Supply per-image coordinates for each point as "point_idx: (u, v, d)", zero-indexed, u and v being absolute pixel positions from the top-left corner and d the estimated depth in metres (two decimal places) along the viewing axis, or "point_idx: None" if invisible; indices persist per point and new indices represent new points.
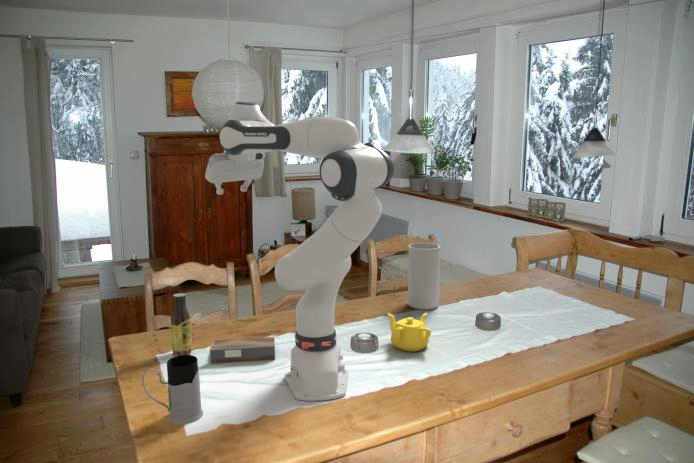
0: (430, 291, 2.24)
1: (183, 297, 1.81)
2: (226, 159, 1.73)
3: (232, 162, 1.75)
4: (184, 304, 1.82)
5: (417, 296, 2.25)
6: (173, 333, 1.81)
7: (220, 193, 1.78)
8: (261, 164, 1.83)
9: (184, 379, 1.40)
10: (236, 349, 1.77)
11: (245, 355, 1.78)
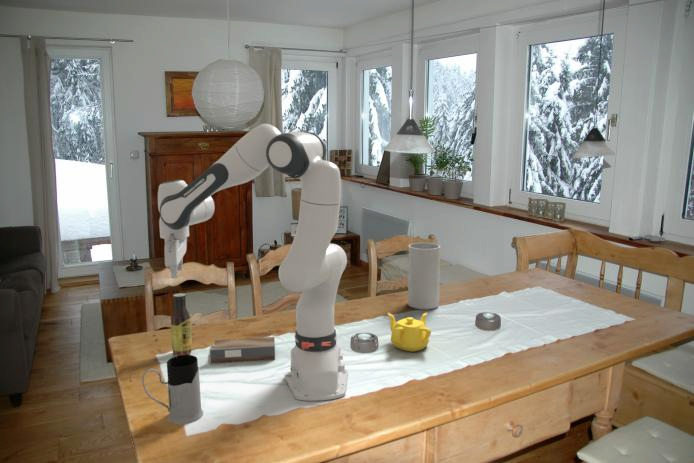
0: (430, 291, 2.24)
1: (183, 297, 1.81)
2: (175, 240, 1.73)
3: (179, 241, 1.75)
4: (184, 304, 1.82)
5: (417, 296, 2.25)
6: (173, 333, 1.81)
7: (177, 276, 1.75)
8: (186, 237, 1.87)
9: (184, 379, 1.40)
10: (236, 349, 1.77)
11: (245, 355, 1.78)
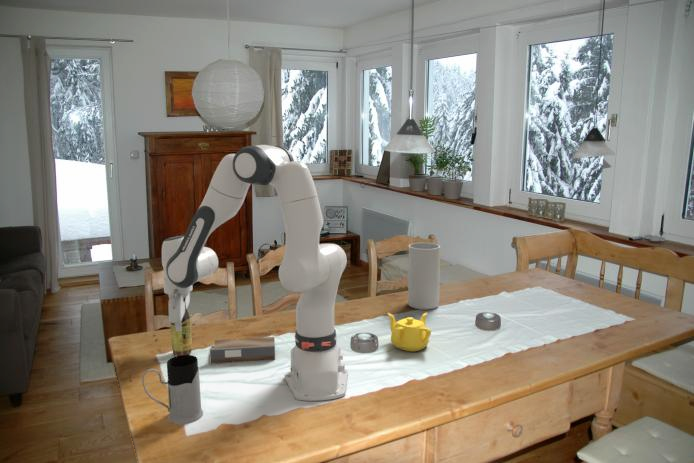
0: (430, 291, 2.24)
1: None
2: (179, 295, 1.77)
3: (182, 296, 1.79)
4: None
5: (417, 296, 2.25)
6: (173, 333, 1.81)
7: (181, 329, 1.80)
8: None
9: (184, 379, 1.40)
10: (236, 349, 1.77)
11: (245, 355, 1.78)
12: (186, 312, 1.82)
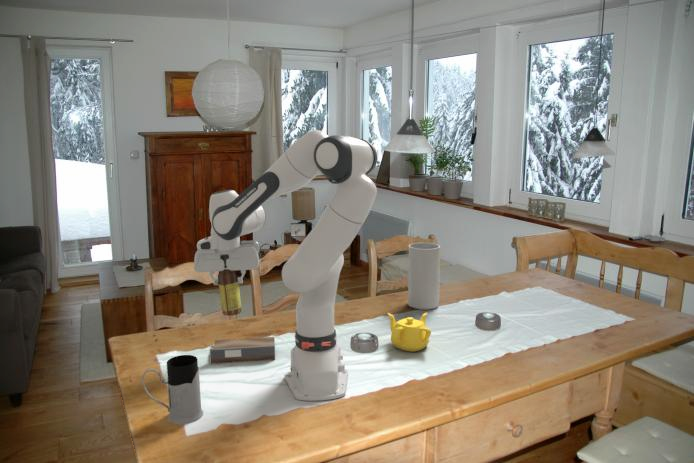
0: (430, 291, 2.24)
1: None
2: None
3: None
4: None
5: (417, 296, 2.25)
6: (236, 291, 1.78)
7: None
8: None
9: (184, 379, 1.40)
10: (236, 349, 1.77)
11: (245, 355, 1.78)
12: None
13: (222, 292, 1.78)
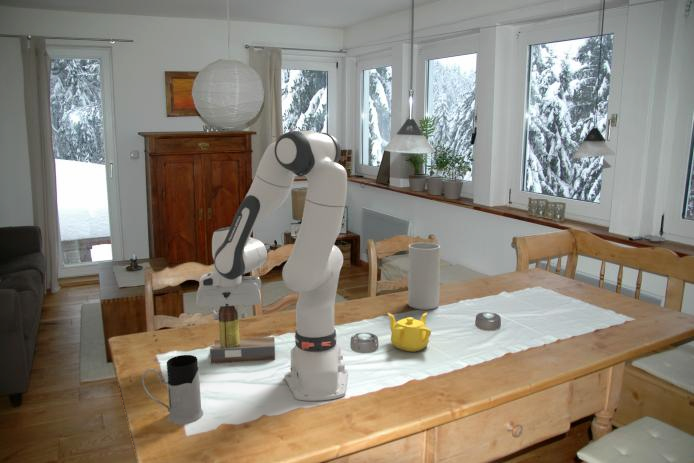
0: (430, 291, 2.24)
1: None
2: None
3: None
4: None
5: (417, 296, 2.25)
6: (235, 328, 1.81)
7: None
8: None
9: (184, 379, 1.40)
10: (236, 349, 1.77)
11: (245, 355, 1.78)
12: None
13: (222, 329, 1.80)
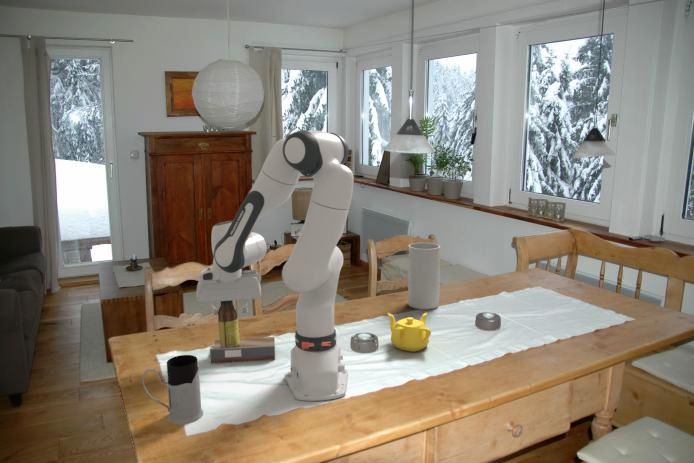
0: (430, 291, 2.24)
1: None
2: None
3: None
4: None
5: (417, 296, 2.25)
6: (235, 328, 1.81)
7: None
8: None
9: (184, 379, 1.40)
10: (236, 349, 1.77)
11: (245, 355, 1.78)
12: None
13: (221, 329, 1.80)
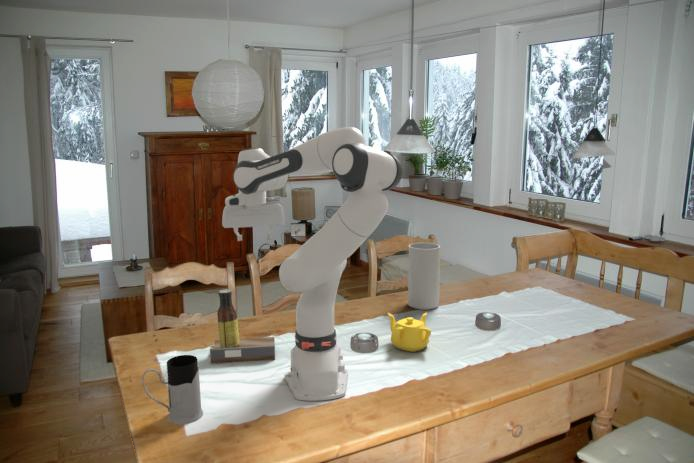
0: (430, 291, 2.24)
1: None
2: None
3: None
4: None
5: (417, 296, 2.25)
6: (234, 328, 1.81)
7: None
8: None
9: (184, 379, 1.40)
10: (236, 349, 1.77)
11: (245, 355, 1.78)
12: None
13: (221, 329, 1.80)
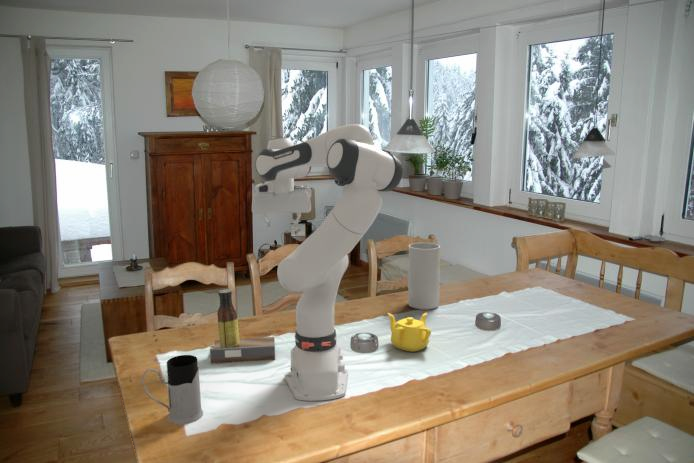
0: (430, 291, 2.24)
1: None
2: None
3: None
4: None
5: (417, 296, 2.25)
6: (234, 328, 1.81)
7: None
8: None
9: (184, 379, 1.40)
10: (236, 349, 1.77)
11: (245, 355, 1.78)
12: None
13: (221, 329, 1.80)
